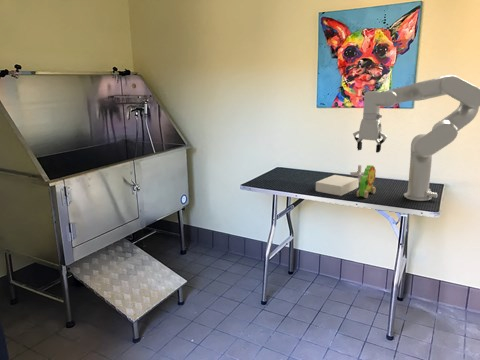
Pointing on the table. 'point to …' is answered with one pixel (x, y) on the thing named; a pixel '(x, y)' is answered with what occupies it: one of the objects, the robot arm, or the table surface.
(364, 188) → the toy lion
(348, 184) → the cream step
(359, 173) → the pipe connector
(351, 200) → the table surface
